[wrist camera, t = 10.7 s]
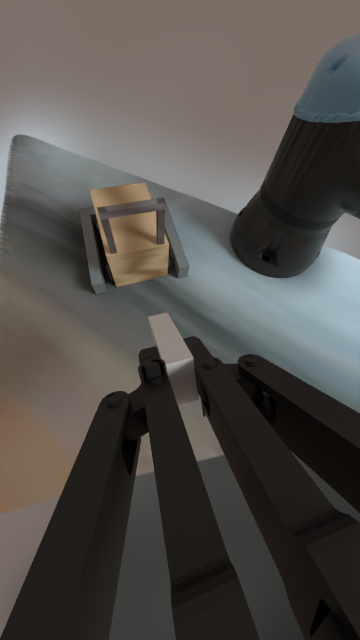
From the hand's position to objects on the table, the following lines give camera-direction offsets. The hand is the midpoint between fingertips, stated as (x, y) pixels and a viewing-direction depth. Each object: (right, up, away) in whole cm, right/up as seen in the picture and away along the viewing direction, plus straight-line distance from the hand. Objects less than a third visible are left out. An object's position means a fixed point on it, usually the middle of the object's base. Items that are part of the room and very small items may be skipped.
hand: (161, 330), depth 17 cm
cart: (-6, +12, +19) cm, 23 cm away
